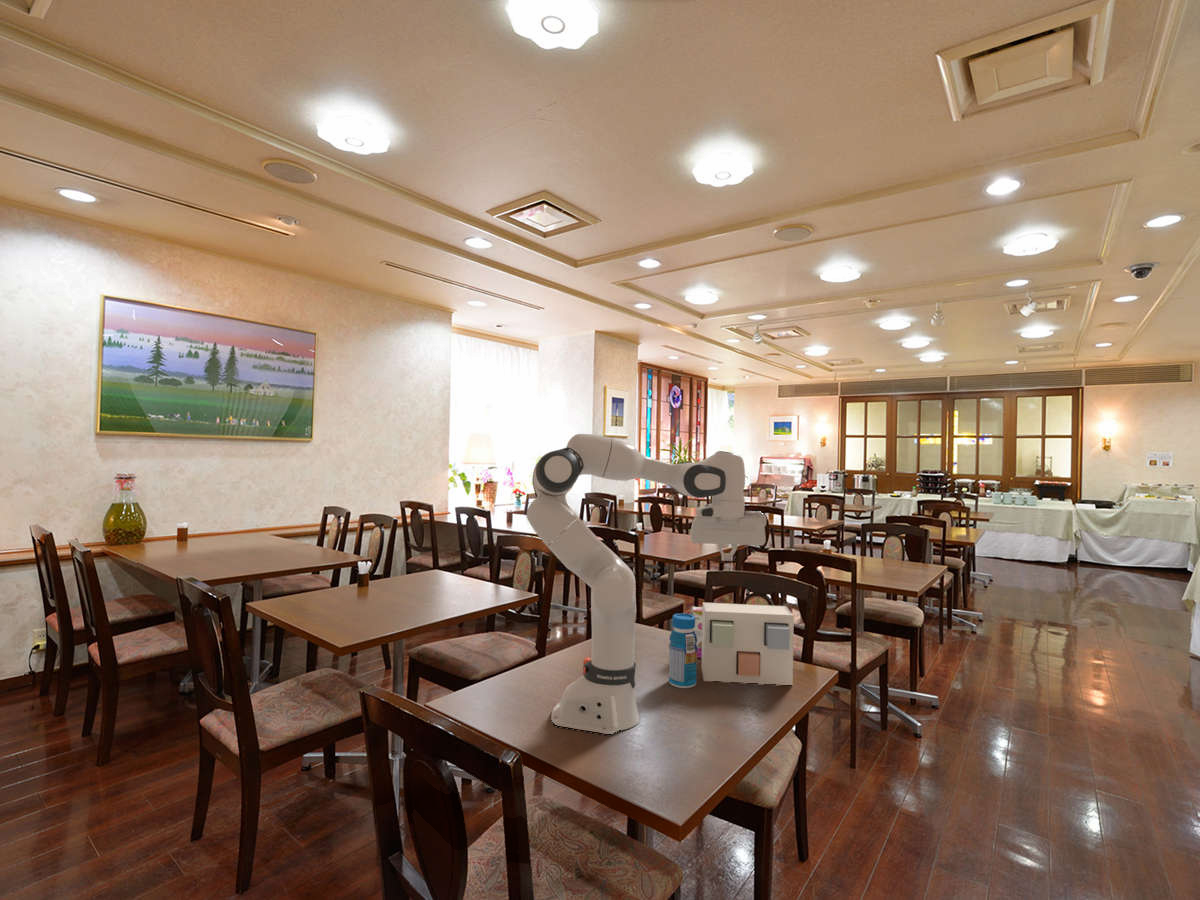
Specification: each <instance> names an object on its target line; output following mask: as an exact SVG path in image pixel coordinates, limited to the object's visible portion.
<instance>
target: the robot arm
mask: <svg viewBox="0 0 1200 900" xmlns="http://www.w3.org/2000/svg"><path fill="white" fill-rule="evenodd" d="M582 475H587V476H588V475H591V476H595V477H598V478H602V479H605V480H611V481H622V482H623V481H624V482H626V481H630V480H634V479H636V480H637V479H639V480H640V479H642V480H646V481H651V482H655V483H658V484H662V485H666V486H669V488H670V489H673V490H674V491H675V492H676V493H678V494H679V495H680V496H684V497H689V498H694V499H703V498H704V499H706V498H709V497H711V503H708V504H704V505H701V506H698V507H696V508H695V515H696V516H695V517H694V518H693V520H692V523H691V528H690V539H689V540H690V541H691V542H692V544H709V545H717V548H718V550H719V552H720V554H721V561H722V562H723V561H724V562H726V561H727V562H733V560H734V559H733V558H734V554H735V553H736V551H737V549H738V546H762V547H763V546H764V545H765V543H766V542H767V540H766V539H767V538H766V529H765V527H766V526H767V516H766V515H765V513H762V512H761V511H759V510H758V511H754V510H753V511H752V510H745V508H746V507H745V502H746V499H745V495H744V489H745V486H746V471H745V462H744V458H743V457H742V456H741V455H740V454H739V453H735V452H731V451H723V450H718V451H715V453H713V454H712V455H711V456H709V457H707V458H705V459H702V460H700V461H697V462H692V461H682V462H679V463H673V462H672V463H671V462H668V461H667V462H666V461H663V460H660V459H655V458H651V457H648V456H646V455H644V454H642V453H641V452H640V451H639V450H638V449H637V448H636V447H635V446H633V445H632V444H630V443H628V442H624V441H623V440H620V439H617V438H613V437H610V436H604V435H601V434H600V435H599V434H589V433H576V434H575V435H573V436H572V437H571V438H570V439H569V441H568V442H567V444H566V446H565V447H563V448H561V449H557V450H556V449H555V450H553V451H549V452H547V453H545V454H544V455H542V456H541V458H539V460H538V461H537V462H536V464H535V465H534V468H533V472H532V486H533V491H534V495H535V498H534V499H533V500H532V502H531V503H530V504H529V506H528V507H527V511H526V519H527V521H528V523H529V524H530V526H531V527H532V529H533V530H534V532H535V534H537V536H538V537H539V539H540V540H541V541H542V542H543V544H544V545H545V546H546V547H547V548H548V549H549V550H550V552H551V553H553V555H554V556H555V557H556V558H557V559H558V560H559V561H560V562H561V563H562V564H563V565H564V567H566V569H567V570H569V571H571V572H572V573H573V574H575V575H576V576H577V577H578V578H580V580H582V581H583V582H584V583H585V584H586V585H587V586H589V588H590V589H591V590H590V606H591V607H590V608H591V609H590V610H591V611H590V613H591V617H590V619H591V654H590V655H591V657H585V658H584V660H583V662H582V663H583V667H582V676H580V677H579V678H577V679H576V680H574V681H573V682H572V683H570V684H569V685H567V687H566V688H565V689H564V691H563V694H562V696H561V699H560V702H558V703H557V704H555V706H554V707H553V709H552V711H551V717H550V719H551V720H552V721H551V723H552V722H553V723H554V724H555V725H558V726H565V727H570V728H576V729H582V730H589V731H594V732H600V733H605V734H612V735H614V734H613V733H615V732H616V733H618V732H620V731H619V730H621V731H624V730H627V729H631V728H633V727H635V726H636V725H637V724H638V723H639V722H640V715H639V714H640V713H639V710H638V706H637V698H636V692H635V691H636V690H635V689H636V688H635V687H636V684H637V668H636V667H637V665H636V664H637V663H636V662H635V638H636V637H635V635H636V632H635V631H636V597H637V596H636V594H637V593H636V592H637V591H636V590H637V589H636V577H635V574H634V572H633V570H632V569H631V568H630V567H629V565H627V564H626V562H624V561H623V560H622V559H621V558H620V557H619V556H618V555H617V554H616V553H615V552H614V551H613V550H612V549H611V548H609V547H608V546H607V545H606V544H605V543H604V542H603V541H601V540H600V539H599V538H598V536H597V535H596V534H595V533H594V532H593V531H592V530H591V529H590V528H589V527H588V526H587V524H586V523H585V522H584V521H583V520H582V519H581V518H580V517H579V516H578V515H577V514H576V513H575V511H573V510H572V509H571V507H570V506H569V504H568V502H567V498H566V495H567V494H568V493H569V492H570V491H571V489H573V487H574V485H575V484H576V482H577V480H578V478H579V476H582ZM724 545H730V547H731V550H730V552H729V553H726V552H724V550H723V549H724ZM553 723H552V724H553ZM617 731H618V732H617ZM616 733H615V734H616Z"/></svg>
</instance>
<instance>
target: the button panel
mask: <svg viewBox="0 0 1200 900" xmlns="http://www.w3.org/2000/svg"><path fill="white" fill-rule="evenodd" d="M702 607H703V612H702V659H701V665H700V666H701V673H702V678H703V682H713V681H721V682H720V683H730V682H741V683H740V684H747V683H758V684H757V685H764V684H776V685H775V686H780V685H793V683H794V677H793V675H794V673H793V672H794V628H795V627H794V625H795V621H794V620H795V617H794V616H795V615H794V614H793V613H792V611H791V610H790V609H789V608H788V607H787V606H786V605H766V604H747V603H745V604H744V603H742V604H741V603H726V602H725V603H724V602H720V603H719V602H702ZM711 620H727V621H732V624H733V626H734V634H733V647H728V646H712V642H711ZM765 622H768V623H786V625H787V626H788V627H789V629H790V640H789V650H784V649H768V647H767V646H766V644H765ZM737 651H744V652H758V654H759V656H760V662H759V676H748V675H738V672H737V669H736V654H737ZM722 681H723V682H722ZM742 682H743V683H742ZM777 684H779V685H777Z"/></svg>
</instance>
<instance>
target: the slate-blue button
mask: <svg viewBox="0 0 1200 900" xmlns="http://www.w3.org/2000/svg"><path fill="white" fill-rule="evenodd" d="M789 640H790V629H789V627H788V626H787V625H786V623H768V622H765V644H766V646H767V647H768V649H784V650H789Z"/></svg>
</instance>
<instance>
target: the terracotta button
mask: <svg viewBox="0 0 1200 900" xmlns="http://www.w3.org/2000/svg"><path fill="white" fill-rule="evenodd" d="M759 662H760V656H759V654H758V652H744V651H737V654H736V669H737V671H736V673H738V675H748V676H759Z"/></svg>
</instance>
